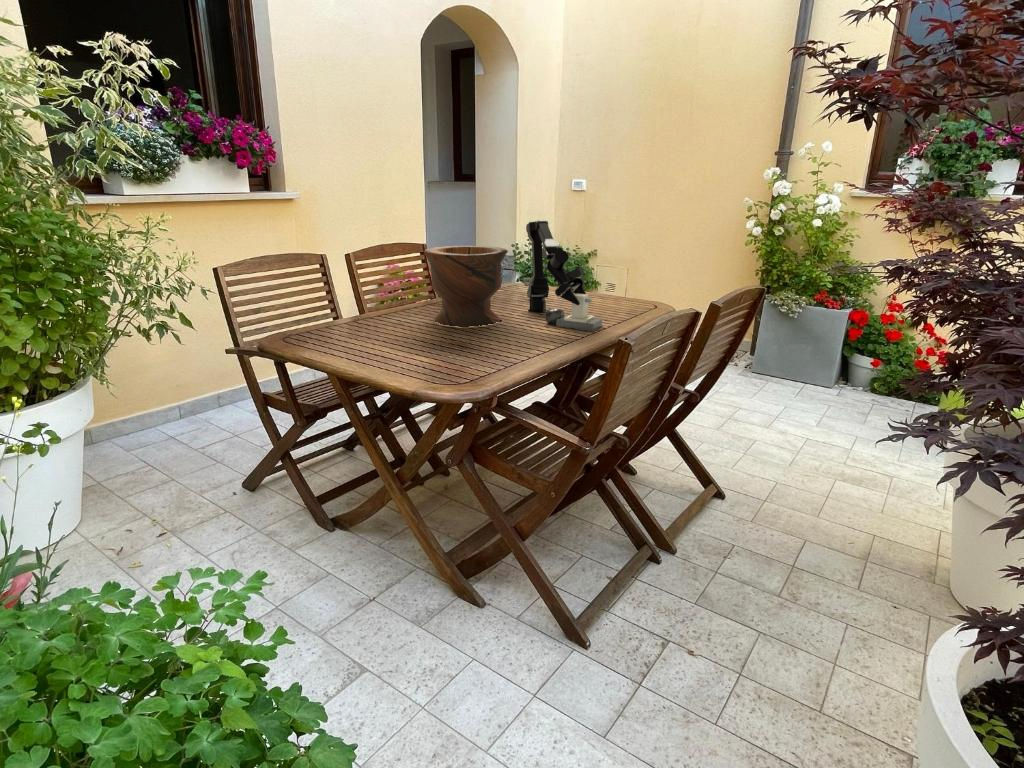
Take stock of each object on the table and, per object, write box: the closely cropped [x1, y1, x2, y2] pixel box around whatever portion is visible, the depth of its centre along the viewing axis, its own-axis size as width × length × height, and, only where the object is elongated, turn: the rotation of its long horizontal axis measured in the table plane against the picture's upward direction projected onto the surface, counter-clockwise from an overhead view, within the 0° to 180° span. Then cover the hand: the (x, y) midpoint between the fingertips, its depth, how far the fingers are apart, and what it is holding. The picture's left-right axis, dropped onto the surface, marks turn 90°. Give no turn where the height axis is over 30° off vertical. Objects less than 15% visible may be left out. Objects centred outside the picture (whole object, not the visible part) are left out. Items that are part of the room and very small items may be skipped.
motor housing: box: [544, 308, 603, 332], centre depth 250 cm, size 22×10×6 cm, turn 62°
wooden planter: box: [423, 245, 508, 327], centre depth 255 cm, size 34×35×29 cm
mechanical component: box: [521, 277, 532, 287], centre depth 303 cm, size 3×10×10 cm, turn 89°
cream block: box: [571, 293, 592, 320], centre depth 247 cm, size 7×5×10 cm
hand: (583, 302), depth 246 cm, fingers open, 9 cm apart
